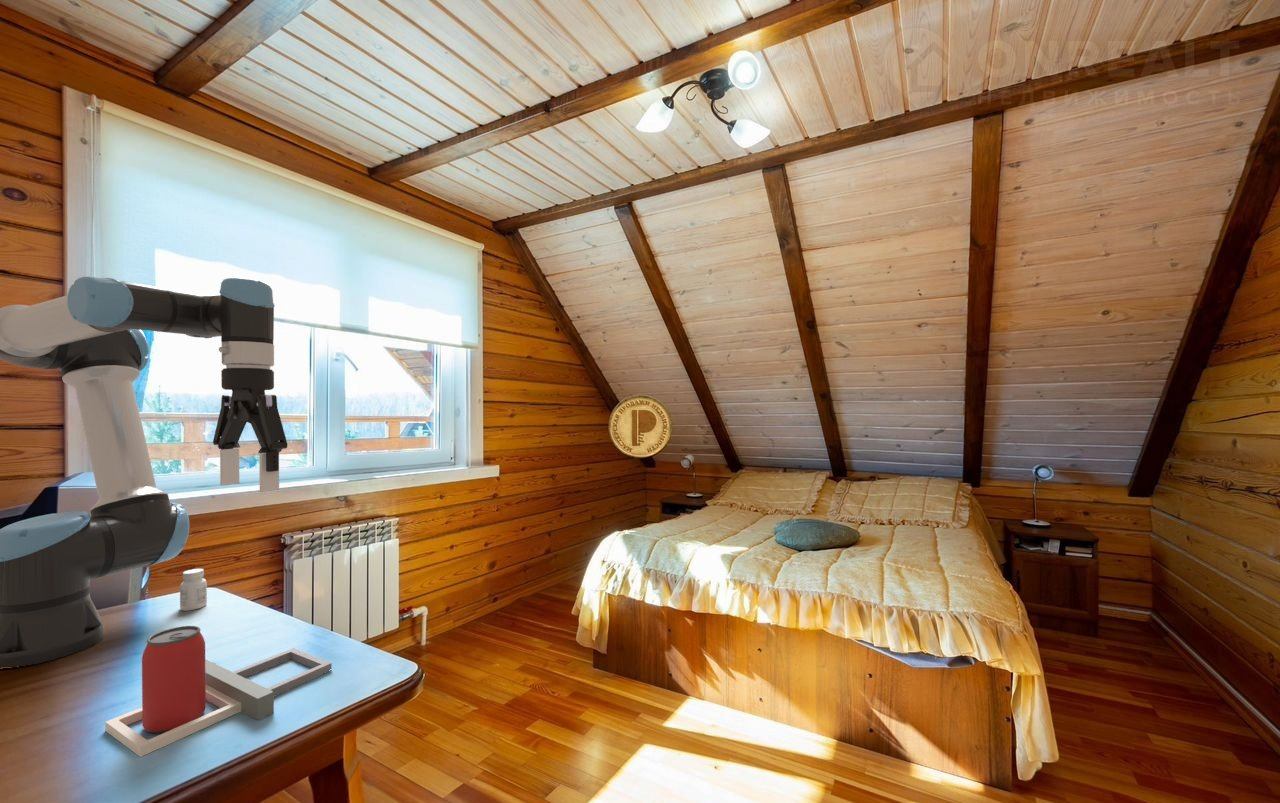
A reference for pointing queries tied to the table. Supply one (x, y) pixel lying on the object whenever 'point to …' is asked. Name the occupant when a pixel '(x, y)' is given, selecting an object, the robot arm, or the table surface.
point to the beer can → (173, 679)
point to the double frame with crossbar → (222, 700)
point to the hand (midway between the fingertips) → (249, 487)
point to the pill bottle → (193, 590)
